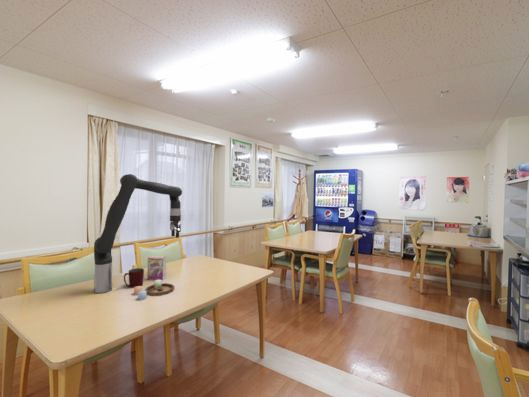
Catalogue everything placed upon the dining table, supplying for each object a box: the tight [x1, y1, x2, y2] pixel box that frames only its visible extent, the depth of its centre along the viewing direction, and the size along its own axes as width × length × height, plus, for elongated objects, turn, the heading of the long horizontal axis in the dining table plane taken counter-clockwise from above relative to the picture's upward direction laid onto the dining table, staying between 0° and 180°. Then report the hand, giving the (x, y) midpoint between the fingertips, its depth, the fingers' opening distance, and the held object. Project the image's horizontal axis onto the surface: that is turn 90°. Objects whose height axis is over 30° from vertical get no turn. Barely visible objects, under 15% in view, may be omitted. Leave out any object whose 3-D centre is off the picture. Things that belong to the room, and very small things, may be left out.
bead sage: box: [153, 279, 163, 290], centre depth 166 cm, size 4×4×5 cm
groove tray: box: [144, 282, 175, 297], centre depth 163 cm, size 16×16×3 cm
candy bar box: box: [147, 255, 167, 281], centre depth 185 cm, size 11×5×16 cm, turn 84°
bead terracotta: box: [133, 285, 143, 296], centre depth 158 cm, size 4×4×5 cm
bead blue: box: [137, 289, 147, 301], centre depth 151 cm, size 4×4×5 cm
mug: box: [123, 267, 145, 289], centre depth 170 cm, size 12×9×11 cm
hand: (175, 236), depth 192 cm, fingers open, 8 cm apart
